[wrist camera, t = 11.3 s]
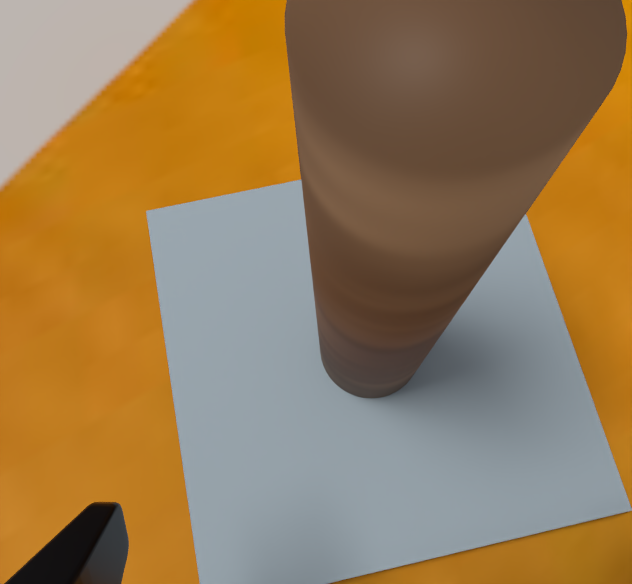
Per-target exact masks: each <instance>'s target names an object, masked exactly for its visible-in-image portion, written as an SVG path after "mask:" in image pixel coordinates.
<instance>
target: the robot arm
mask: <svg viewBox="0 0 632 584" xmlns="http://www.w3.org/2000/svg"><path fill="white" fill-rule="evenodd" d="M128 547H129V541H128V535H127V530H126V525H125V521H124V516H123V511H122V508H121V506H120V504H119V503H116V502H94V503H92V504H90V505H89V506H87V507H86V508H85V509H84V510H83V511H82V512H81V513H80V514H79V515H78V516H77V517H76V518H74V519H73V520H72V521H71V522H70V523H69V524H68V525H67V526H66V527H65V528H64V529H63V530H62V531H60V532H59V533H58V534H57V535H56V536H55V537H54V538H53V539H52V540H51V541H50V542H49V543H48V544H46V545H45V546H44V547H43V548H42V549H41V550H40V551H39V552H38V553H37V554H36V555H35V556H34V557H32V558H31V559H30V560H29V561H28V562H27V563H26V564H25V565H24V566H23V567H22V568H21V569H20V570H18V571H17V572H16V573H15V574H14V575H13V576H12V577H11V578H10V579H9V580H8V581H7V582H6V583H4V584H121V581H122V577H123V573H124V568H125V564H126V560H127V555H128Z"/></svg>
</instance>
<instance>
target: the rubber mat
mask: <svg viewBox="0 0 632 584" xmlns="http://www.w3.org/2000/svg"><path fill="white" fill-rule="evenodd" d="M146 213H147V220H148V227H149V234H150V241H151V248H152V255H153V262H154V269H155V276H156V282H157V289H158V296H159V303H160V310H161V317H162V324H163V331H164V338H165V345H166V352H167V359H168V366H169V373H170V379H171V386H172V393H173V400H174V407H175V414H176V421H177V428H178V435H179V442H180V449H181V456H182V463H183V470H184V476H185V483H186V490H187V497H188V504H189V511H190V518H191V525H192V532H193V539H194V546H195V553H196V560H197V567H198V573H199V580H200V584H328V583H332V582H336V581H340V580H345V579H349V578H353V577H357V576H361V575H365V574H370V573H374V572H378V571H382V570H386V569H390V568H395V567H399V566H403V565H407V564H411V563H415V562H420V561H424V560H428V559H432V558H436V557H440V556H445V555H449V554H453V553H457V552H461V551H465V550H470V549H474V548H478V547H482V546H486V545H490V544H495V543H499V542H503V541H507V540H511V539H515V538H520V537H524V536H528V535H532V534H536V533H540V532H545V531H549V530H553V529H557V528H561V527H565V526H569V525H574V524H578V523H582V522H586V521H590V520H594V519H599V518H603V517H607V516H611V515H615V514H619V513H624V512H628V511H632V508H631V506H630V503H629V500H628V497H627V494H626V492H625V489H624V486H623V483H622V481H621V478H620V475H619V472H618V469H617V467H616V464H615V461H614V458H613V455H612V453H611V450H610V447H609V444H608V442H607V439H606V436H605V433H604V430H603V428H602V425H601V422H600V419H599V416H598V414H597V411H596V408H595V405H594V402H593V400H592V397H591V394H590V391H589V389H588V386H587V383H586V380H585V377H584V375H583V372H582V369H581V366H580V363H579V361H578V358H577V355H576V352H575V349H574V347H573V344H572V341H571V338H570V336H569V333H568V330H567V327H566V324H565V322H564V319H563V316H562V313H561V310H560V308H559V305H558V302H557V299H556V297H555V294H554V291H553V288H552V285H551V283H550V280H549V277H548V274H547V271H546V269H545V266H544V263H543V260H542V257H541V255H540V252H539V249H538V246H537V244H536V241H535V238H534V235H533V232H532V230H531V227H530V224H529V221H528V218H527V216H526V214H525V215H524V217H523V218H522V220H521V221H520V222H519V224H518V225H517V227H516V228H515V230H514V231H513V232H512V234H511V235H510V237H509V238H508V240H507V241H506V243H505V244H504V245H503V247H502V248H501V250H500V251H499V253H498V254H497V256H496V257H495V258H494V260H493V261H492V263H491V264H490V266H489V267H488V268H487V270H486V271H485V273H484V274H483V276H482V277H481V279H480V280H479V281H478V283H477V284H476V286H475V287H474V289H473V290H472V291H471V293H470V294H469V296H468V297H467V299H466V300H465V302H464V303H463V304H462V306H461V307H460V309H459V310H458V312H457V313H456V315H455V316H454V317H453V319H452V320H451V322H450V323H449V325H448V326H447V327H446V329H445V330H444V332H443V333H442V335H441V336H440V338H439V339H438V340H437V342H436V343H435V345H434V346H433V348H432V349H431V350H430V352H429V353H428V355H427V356H426V358H425V359H424V361H423V362H422V363H421V365H420V366H419V368H418V369H417V371H416V372H415V374H414V375H413V376H412V378H411V379H410V380H409V382H408V383H407V384H406V385H405V386H404V387H402V388H401V389H400V390H398V391H397V392H395V393H393V394H391V395H388V396H385V397H380V398H362V397H358V396H355V395H352V394H350V393H348V392H346V391H344V390H343V389H341V388H340V387H338V386H337V385H336V384H335V383H334V382H333V381H332V379H331V378H330V377H329V375H328V374H327V372H326V370H325V368H324V366H323V363H322V360H321V354H320V345H319V336H318V327H317V318H316V309H315V300H314V291H313V281H312V272H311V263H310V254H309V245H308V236H307V227H306V218H305V209H304V200H303V191H302V181H301V180H297V181H292V182H288V183H283V184H278V185H273V186H268V187H263V188H258V189H253V190H248V191H243V192H238V193H233V194H228V195H223V196H218V197H214V198H209V199H204V200H199V201H194V202H189V203H184V204H179V205H174V206H169V207H164V208H159V209H154V210H149V211H146Z"/></svg>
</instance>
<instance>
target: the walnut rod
mask: <svg viewBox="0 0 632 584" xmlns="http://www.w3.org/2000/svg"><path fill="white" fill-rule="evenodd" d="M285 36H286V45H287V54H288V63H289V72H290V81H291V90H292V100H293V109H294V118H295V127H296V136H297V145H298V154H299V163H300V172H301V181H302V191H303V200H304V209H305V218H306V227H307V236H308V245H309V254H310V263H311V272H312V281H313V291H314V300H315V309H316V318H317V327H318V336H319V345H320V354H321V360H322V363H323V366H324V368H325V370H326V372H327V374H328V375H329V377H330V378H331V379H332V381H333V382H334V383H335V384H336V385H337V386H338V387H340V388H341V389H343V390H344V391H346V392H348V393H350V394H352V395H355V396H358V397H362V398H380V397H385V396H388V395H391V394H393V393H395V392H397V391H398V390H400V389H401V388H402V387H404V386H405V385H406V384H407V383H408V382H409V380H410V379H411V378H412V376H413V375H414V374H415V372H416V371H417V369H418V368H419V366H420V365H421V363H422V362H423V361H424V359H425V358H426V356H427V355H428V353H429V352H430V350H431V349H432V348H433V346H434V345H435V343H436V342H437V340H438V339H439V338H440V336H441V335H442V333H443V332H444V330H445V329H446V327H447V326H448V325H449V323H450V322H451V320H452V319H453V317H454V316H455V315H456V313H457V312H458V310H459V309H460V307H461V306H462V304H463V303H464V302H465V300H466V299H467V297H468V296H469V294H470V293H471V291H472V290H473V289H474V287H475V286H476V284H477V283H478V281H479V280H480V279H481V277H482V276H483V274H484V273H485V271H486V270H487V268H488V267H489V266H490V264H491V263H492V261H493V260H494V258H495V257H496V256H497V254H498V253H499V251H500V250H501V248H502V247H503V245H504V244H505V243H506V241H507V240H508V238H509V237H510V235H511V234H512V232H513V231H514V230H515V228H516V227H517V225H518V224H519V222H520V221H521V220H522V218H523V217H524V215H525V214H526V212H527V211H528V209H529V208H530V207H531V205H532V204H533V202H534V201H535V199H536V198H537V197H538V195H539V194H540V192H541V191H542V189H543V188H544V186H545V185H546V184H547V182H548V181H549V179H550V178H551V176H552V175H553V173H554V172H555V171H556V169H557V168H558V166H559V165H560V163H561V162H562V161H563V159H564V158H565V156H566V155H567V153H568V152H569V150H570V149H571V148H572V146H573V145H574V143H575V142H576V140H577V139H578V138H579V136H580V135H581V133H582V132H583V130H584V129H585V127H586V126H587V125H588V123H589V122H590V120H591V119H592V117H593V116H594V114H595V113H596V112H597V110H598V109H599V107H600V106H601V104H602V103H603V101H604V100H605V98H606V97H607V95H608V94H609V92H610V91H611V89H612V88H613V86H614V84H615V82H616V79H617V77H618V75H619V73H620V71H621V67H622V63H623V59H624V56H625V51H626V39H627V29H626V18H625V13H624V9H623V5H622V1H621V0H287V4H286V10H285Z"/></svg>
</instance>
